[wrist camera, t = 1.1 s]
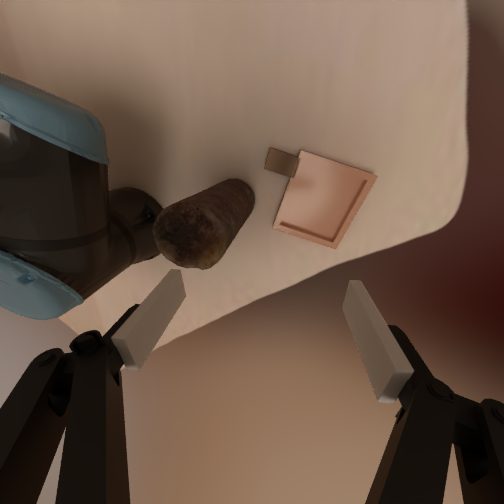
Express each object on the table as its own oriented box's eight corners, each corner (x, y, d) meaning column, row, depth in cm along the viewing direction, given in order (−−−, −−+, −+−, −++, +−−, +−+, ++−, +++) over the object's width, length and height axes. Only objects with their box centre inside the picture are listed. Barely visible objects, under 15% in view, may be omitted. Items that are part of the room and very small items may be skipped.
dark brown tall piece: (223, 169, 34) (155, 191, 17) (262, 185, 35) (235, 223, 17) (212, 209, 38) (148, 261, 21) (247, 224, 38) (214, 287, 21)
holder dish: (273, 224, 38) (272, 228, 36) (300, 150, 31) (301, 150, 29) (333, 244, 37) (335, 249, 36) (372, 174, 31) (377, 175, 29)
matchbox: (265, 167, 33) (263, 168, 31) (271, 148, 32) (270, 147, 30) (293, 176, 33) (294, 178, 31) (300, 157, 32) (301, 158, 30)
